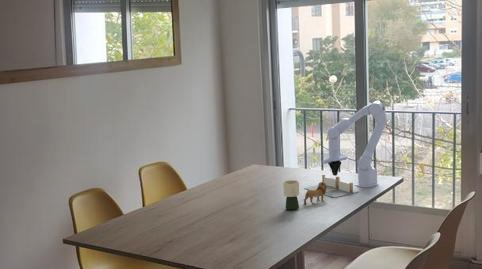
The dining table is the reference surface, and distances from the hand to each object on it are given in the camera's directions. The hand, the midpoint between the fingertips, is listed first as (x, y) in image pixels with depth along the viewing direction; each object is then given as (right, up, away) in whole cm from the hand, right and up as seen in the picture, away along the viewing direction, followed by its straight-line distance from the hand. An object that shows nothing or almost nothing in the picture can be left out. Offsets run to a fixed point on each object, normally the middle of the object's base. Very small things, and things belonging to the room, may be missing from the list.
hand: (334, 175), depth 318 cm
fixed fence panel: (+3, -7, -13) cm, 15 cm away
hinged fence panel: (-3, -5, -3) cm, 7 cm away
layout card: (-3, -7, -10) cm, 13 cm away
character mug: (-26, -13, -39) cm, 48 cm away
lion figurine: (-14, -11, -29) cm, 34 cm away
